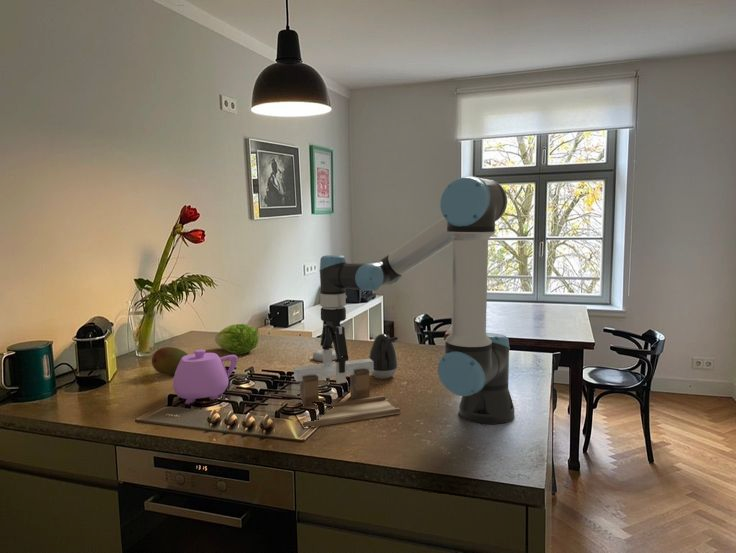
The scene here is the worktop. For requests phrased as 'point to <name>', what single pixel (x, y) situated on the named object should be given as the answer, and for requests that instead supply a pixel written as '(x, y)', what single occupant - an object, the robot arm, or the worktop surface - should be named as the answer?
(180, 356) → the fruit
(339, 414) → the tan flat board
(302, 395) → the cradle posts
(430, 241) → the robot arm
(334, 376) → the rail
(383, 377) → the pump dispenser
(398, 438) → the worktop surface
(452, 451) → the worktop surface
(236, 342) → the lettuce
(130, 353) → the worktop surface
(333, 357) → the donut
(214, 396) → the teapot
